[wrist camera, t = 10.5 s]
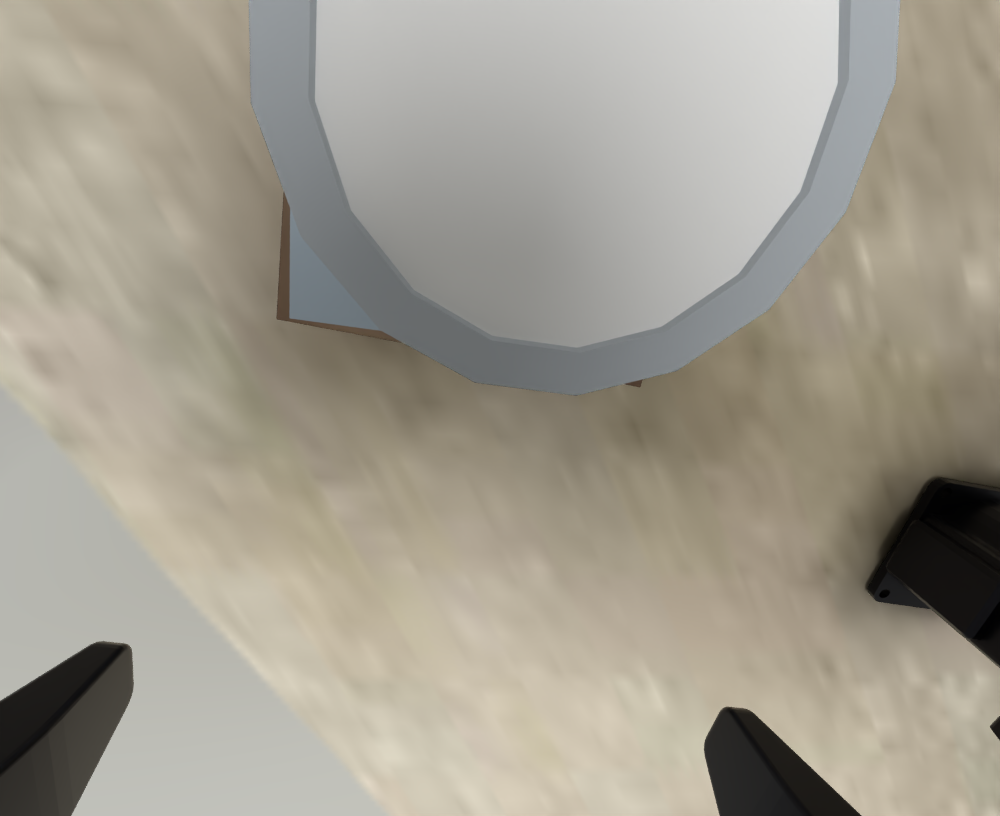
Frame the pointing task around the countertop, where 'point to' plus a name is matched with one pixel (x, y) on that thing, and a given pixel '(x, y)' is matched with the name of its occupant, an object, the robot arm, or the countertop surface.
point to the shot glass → (568, 166)
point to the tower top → (319, 289)
